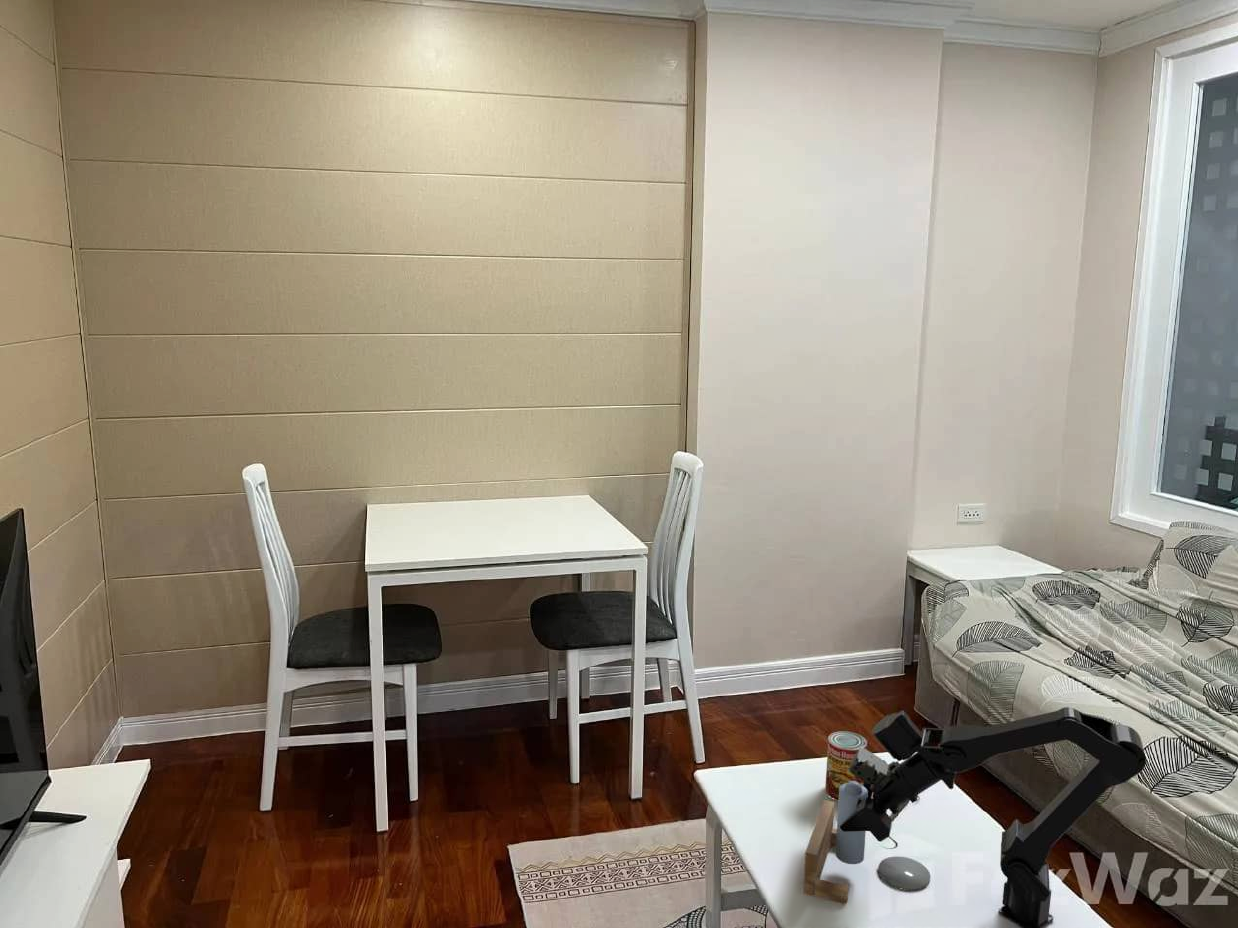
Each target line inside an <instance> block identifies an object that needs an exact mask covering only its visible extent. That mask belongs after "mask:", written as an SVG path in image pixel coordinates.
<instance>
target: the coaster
mask: <svg viewBox="0 0 1238 928" xmlns="http://www.w3.org/2000/svg"><path fill="white" fill-rule="evenodd" d="M877 870H879V871H878V874H880V875H879V876H880V877H882V878H883V879H882V878H881V879H882V880H883V881H884V880H885V881H886V882H885V881H884V882H885V883H887V884H888V885H890V886H892V885H893V886H892V887H894V886H895V887H894V888H896V887H897V889H899V888H902V889H901V890H903V889H905V891H919V890H920V891H921V890H922V889H925V888H927V887H928V886H929V884H930V881H931V873H930V871H929V870H928V868H927V867H926V866H925V865H924V864H922V863H921V862H919V861H917V860H915V859H912V858H909V857H906V856H889V857H886V858H883V859H882V860H881V861H880V862H879V864H878V868H877ZM927 885H928V886H927ZM926 886H927V887H926Z"/></svg>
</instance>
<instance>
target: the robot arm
mask: <svg viewBox="0 0 1238 928" xmlns="http://www.w3.org/2000/svg"><path fill="white" fill-rule="evenodd" d="M871 734H872V736H873V737H874V738H875V739H876V740H877V742H879V744H880V745H881V746H882V747H883V748H884V749H885V750H886V752H887V753H888V754H889V755H890V756H891V757H892V758H893V759H894V761H892V762H890V763H889V764H888V763H887V762H886V760H885V759H882V758H881V757H879V756H878V755H876V754H874V753H873V752H871V751H869V750H866V749H864V748H860V749H859V750H858V752H857V753H856V755H855V757H854V758H853V760H852V761H851V765H850V768H849V771H850V772H851V773H852V774H853V775H855V776H856V777H857V778H859V779H860V780H862V781H863V782H864V783H863V787H865V788H866V789H867V791H868V798H865V799H864V800H862V801H861V799H860V798H859V799H858V802H857V806H856V808H857V810H856V811H855V812H854V813H853V814H852V815H851V816H850V817H849V818H847V819H846V820H845V821H844V822H843V823H842V824H841V825H840V829H841V830H842V831H843V832H850V831H866V832H870V833H871V834H872V835H873V837H874V838H875V839H876V840H877V842H881V843H882V842H883V841H885V840H886V839H888V838H889V836H890V835H891V834H890V833H891V831H892V827H893V826H892V819H891V818H890V817H889V816H890V814H888V813H887V811H888V810H889V811H890V812H891V814H892V813H893V814H894V815H895V814H896V813H898V812H899V807H900V806H901V805H903V804H904V803H906V802H907V801H909V800H910V801H909V802H911V803H912V804H913V803H916V802H918V801H917V800H918V799H919V797H918V796H919V795H920V794H921V793H924V792H925V791H926V790H928V789H929V788H931V787H933V786H934V785H936V784H938V783H939V782H940V781H942V782H943V783H944V785H946V787H947V788H948V789H949V790H953V789H954V786H955V785H954V784H955V778H956V775H957V773H964V772H967V771H969V770H971V769H972V770H973V769H974V768H976V767H979V766H981V765H982V764H984V763H986V762H987V761H988V760H989V759H991V758H994V757H997V756H998V755H1003V754H1007V753H1011V752H1013V753H1014V752H1016V751H1022V750H1027V749H1029V748H1035V747H1040V746H1045V745H1049V744H1053V743H1058V742H1063V741H1069V742H1070V743H1072V744H1075V746H1078V747H1079V748H1081V750H1083V751H1084V752H1086V753H1087V754H1088V755H1090V756H1089V758H1088V761H1087V762H1086V764H1085V766H1084V767H1082V769H1081V770H1080V771H1078V773H1077V774H1076V775H1075V776H1074V777H1073V778H1072V779H1071V780H1070V781H1069V782H1068V783H1067V785H1065V786H1064V787H1063V789H1062V790H1061V791H1060V792H1059V793H1058V794H1056V796H1055V797H1054V798H1053V799H1052V800H1051V801H1050V803H1049V804H1048V805H1046V807H1044V808H1043V810H1042V811H1041V812H1039V814H1038V815H1037V816H1036V817H1035V818H1034V819H1033V820H1032V821H1030V822H1027V823H1026V822H1025V823H1021V821H1020V820H1019V819H1017V818H1016V819H1015V820H1013V822H1012V824H1011V825H1010V827H1009V828H1007V829H1006V830H1004V831H1002V832H1001V841H1000V860H999V861H1000V863H999V865H1000V870H1001V872H1002V874H1003V875H1004V876H1005V877H1006V881H1005V882H1004V884H1003V891H1002V900H1001V901H1002V905H1003V906H1001V907H1000V908H998V913H999V914H1000V915H1002V916H1003V917H1005V918H1006V919H1008V920H1010V921H1012V922H1013V923H1015V924H1017V925H1018V926H1020V927H1021V928H1043V927H1044V926H1046V925H1048V924H1049V923H1051V922H1052V921H1054V915H1053V914H1051V913H1050V909H1051V898H1052V890H1053V889H1051V887H1050V868H1049V862H1048V861H1047V859H1048V857H1049V854H1050V852H1051V849H1052V848H1053V846H1054V845H1055V844H1056V843H1057V842H1058V840H1060V839H1061V838H1062V836H1064V835H1065V833H1066V832H1067V831H1068V830H1070V828H1071V827H1072V826H1073V825H1074V824H1075V823H1076V822H1077V821H1079V819H1080V818H1081V817H1082V816H1083V815H1084V814H1085V813H1086V812H1087V811H1088V810H1089V809H1090V808H1091V807H1092V806H1093V805H1094V804H1095V803H1096V802H1097V800H1099V799H1100V798H1101V796H1103V795H1104V794H1105V793H1106V792H1107V790H1109V789H1111V788H1112V787H1116V786H1119V785H1122V784H1125V783H1127V782H1129V780H1131V779H1133V778H1134V777H1136V776H1137V775H1139V774H1140V773H1141V772H1142V771H1143V770H1144V769H1145V767H1146V766H1147V758H1146V757H1147V756H1146V753H1145V749H1144V745H1143V742H1142V738H1141V735H1140V734H1139V732H1137V731H1136V730H1135V729H1134V728H1133V727H1131V726H1129V725H1126V724H1116V723H1114V722H1112V721H1110V720H1108V719H1105V718H1103V717H1101V716H1097V715H1096V716H1095V715H1093V714H1092V715H1091V714H1087V713H1084V712H1082V711H1079V710H1077V709H1076V708H1073V707H1070V706H1068V707H1067V706H1066V707H1065V706H1064V707H1062V708H1060V709H1057V710H1055V711H1051V712H1045V713H1041V714H1037V715H1033V716H1029V717H1025V718H1019V719H1016V720H1012V721H1011V720H1010V721H1007V722H1003V723H998V724H995V725H988V726H987V725H986V726H979V725H974V724H961V725H960V724H959V725H950V726H947V727H945V728H936V727H935V728H934V727H933V728H932V727H922V731H921V730H920V729H919V728H918V727H917V725H915V724H914V722H913V721H912V720H911V718H910V716H909V715H908V713H906V712H905V711H904V710H903V709H902V710H900V711H899V712H892V713H891V714H887V715H885V716H884V717H883V718H882V719H881V720H880V721H878V722H877V723H876V724H875V725H874V726H873V728H872V730H871ZM935 743H937V744H938V746H934V745H935ZM895 760H897V761H895ZM900 761H902V762H901V763H899V762H900ZM915 801H916V802H915Z"/></svg>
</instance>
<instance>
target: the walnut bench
mask: <svg viewBox="0 0 1238 928" xmlns="http://www.w3.org/2000/svg"><path fill="white" fill-rule="evenodd" d="M834 813H835V801H831V800H830V801H829V800H825V799H823V801H822V805H821V806H820V810H819V813H818V815H817V818H816V821H815V825H814V827H813V829H812V833H811V836H810V838H809V840H808V841H809V842H808V843H807V847H806V850H805V855H804V872H803V890H802V891H803V892H802V893H803V894H806V895H809V896H812V897H817V898H821V899H825V900H828V901H829V900H830V901H833V902H837V903H840V904H844V903H845V904H844V905H847V903H848V899H849V885H845V884H842V883H837V882H833V881H830V880H826V879H823V878H821V877H822V873H823V871H824V867H825V865H826V864H825V863H826V861H827V858H828V855H829V851H830V848H831V845H832V846H836V837H837V828H834V818H835V817H834Z"/></svg>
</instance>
